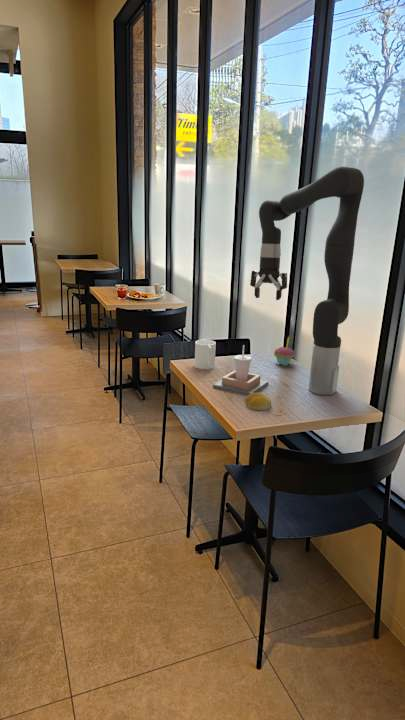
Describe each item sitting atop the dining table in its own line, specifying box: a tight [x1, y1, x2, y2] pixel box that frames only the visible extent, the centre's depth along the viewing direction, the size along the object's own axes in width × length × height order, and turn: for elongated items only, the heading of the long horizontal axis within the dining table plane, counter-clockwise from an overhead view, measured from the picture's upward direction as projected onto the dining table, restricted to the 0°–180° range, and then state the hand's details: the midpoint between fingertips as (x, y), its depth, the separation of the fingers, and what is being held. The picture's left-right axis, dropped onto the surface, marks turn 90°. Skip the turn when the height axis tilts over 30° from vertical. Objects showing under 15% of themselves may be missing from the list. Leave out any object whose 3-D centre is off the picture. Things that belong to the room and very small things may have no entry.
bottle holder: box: [212, 369, 269, 397], centre depth 175 cm, size 15×15×4 cm
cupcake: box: [273, 336, 295, 366], centre depth 202 cm, size 9×8×12 cm
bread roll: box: [244, 392, 272, 411], centre depth 159 cm, size 8×9×4 cm
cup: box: [194, 339, 217, 370], centre depth 193 cm, size 8×12×10 cm
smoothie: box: [233, 344, 253, 382], centre depth 174 cm, size 6×6×14 cm
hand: (267, 298), depth 187 cm, fingers open, 8 cm apart
